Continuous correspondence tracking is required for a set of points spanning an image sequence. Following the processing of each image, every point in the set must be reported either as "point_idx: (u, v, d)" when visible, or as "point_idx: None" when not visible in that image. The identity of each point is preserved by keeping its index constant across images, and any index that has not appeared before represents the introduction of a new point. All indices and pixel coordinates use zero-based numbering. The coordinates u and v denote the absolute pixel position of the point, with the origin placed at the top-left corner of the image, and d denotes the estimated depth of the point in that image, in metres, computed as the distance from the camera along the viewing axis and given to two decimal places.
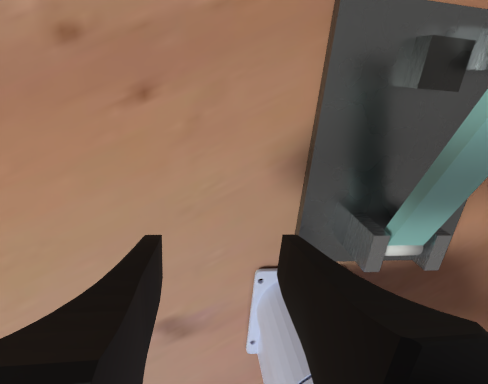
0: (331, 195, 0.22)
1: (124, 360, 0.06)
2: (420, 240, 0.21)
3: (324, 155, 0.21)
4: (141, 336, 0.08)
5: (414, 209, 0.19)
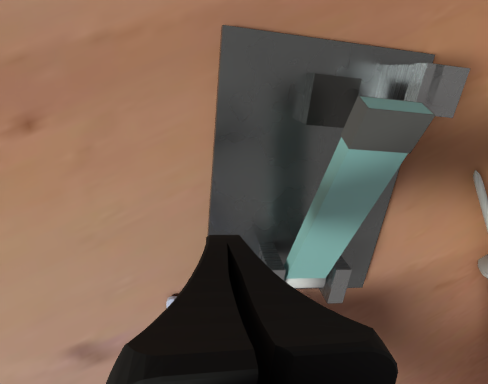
0: (236, 225, 0.22)
1: None
2: (320, 274, 0.21)
3: (224, 187, 0.21)
4: None
5: (301, 246, 0.18)
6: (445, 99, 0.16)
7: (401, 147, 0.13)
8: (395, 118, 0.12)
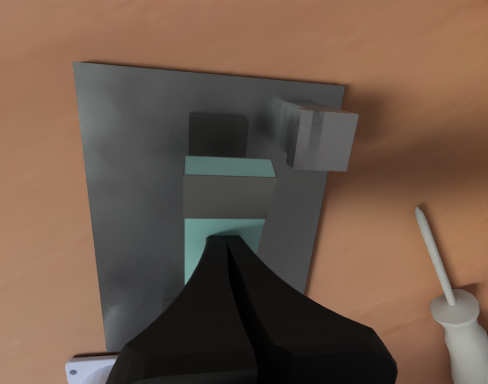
0: (132, 283, 0.19)
1: None
2: None
3: (109, 242, 0.18)
4: None
5: None
6: (333, 151, 0.13)
7: (251, 214, 0.11)
8: (225, 183, 0.10)
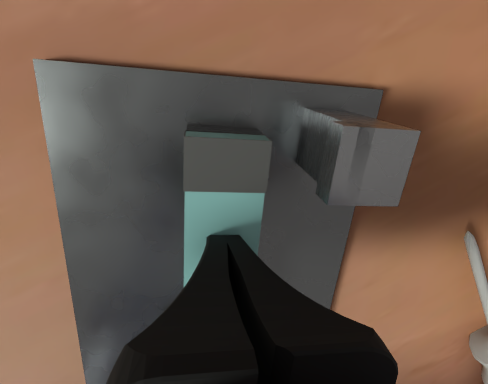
0: (118, 328, 0.16)
1: None
2: None
3: (89, 282, 0.14)
4: None
5: None
6: (382, 180, 0.09)
7: (250, 185, 0.11)
8: (223, 147, 0.10)
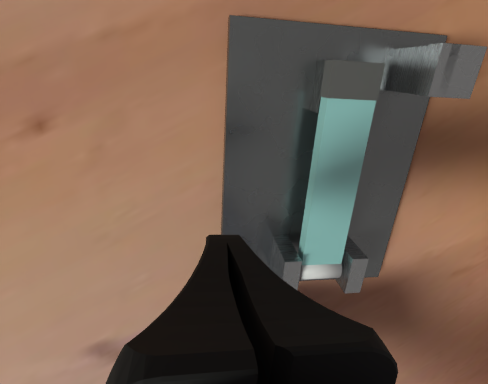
0: (249, 219, 0.22)
1: None
2: (335, 257, 0.21)
3: (236, 180, 0.21)
4: None
5: (309, 217, 0.20)
6: (462, 80, 0.15)
7: (368, 95, 0.17)
8: (355, 67, 0.16)
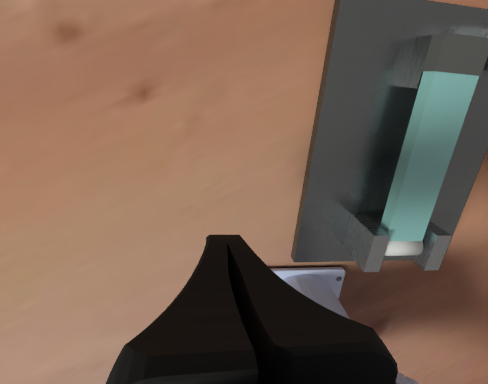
0: (331, 195, 0.22)
1: None
2: (417, 234, 0.22)
3: (324, 155, 0.21)
4: None
5: (399, 191, 0.20)
6: None
7: (473, 69, 0.17)
8: (466, 41, 0.17)
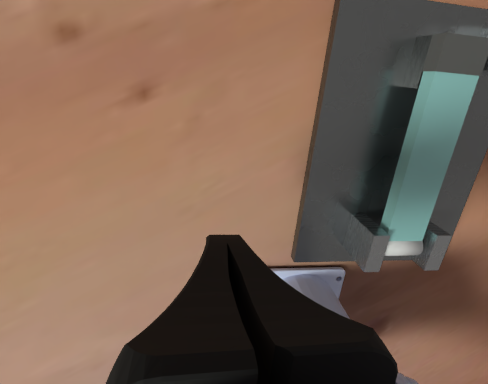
0: (331, 195, 0.22)
1: None
2: (417, 234, 0.22)
3: (324, 155, 0.21)
4: None
5: (399, 191, 0.20)
6: None
7: (473, 69, 0.17)
8: (466, 41, 0.17)
